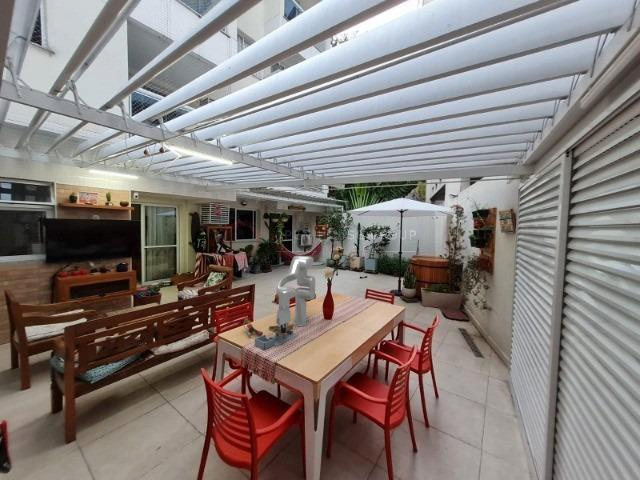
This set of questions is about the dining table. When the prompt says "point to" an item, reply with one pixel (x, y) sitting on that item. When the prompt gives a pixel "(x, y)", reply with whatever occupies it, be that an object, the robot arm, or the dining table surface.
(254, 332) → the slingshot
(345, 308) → the dining table surface
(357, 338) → the dining table surface
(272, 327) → the seesaw
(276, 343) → the fulcrum
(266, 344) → the tray
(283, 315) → the robot arm
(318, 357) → the dining table surface
